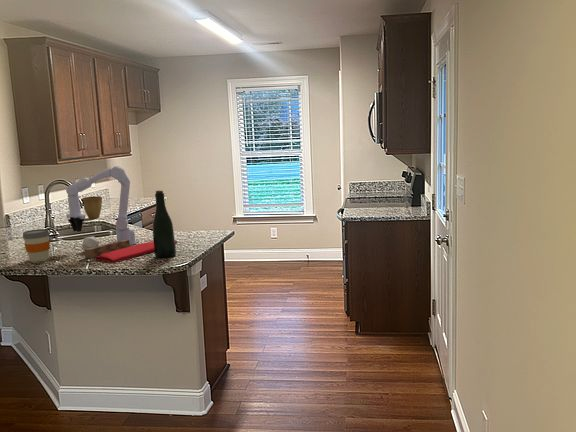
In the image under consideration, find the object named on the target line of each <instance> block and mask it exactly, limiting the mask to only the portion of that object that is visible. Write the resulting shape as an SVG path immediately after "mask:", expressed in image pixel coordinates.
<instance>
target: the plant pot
mask: <svg viewBox="0 0 576 432" xmlns="http://www.w3.org/2000/svg"><path fill="white" fill-rule="evenodd" d="M82 200H83V202H84V205H85V206H83V209H84V211H85V214H86V217H87V218H88V219H89V220H95V219H99V218H100V217H101V210H102V203H103V196H100V195H99V196H86V197H82V198H81V201H82Z"/></svg>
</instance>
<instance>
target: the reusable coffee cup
mask: <svg viewBox="0 0 576 432" xmlns="http://www.w3.org/2000/svg"><path fill="white" fill-rule="evenodd" d="M22 239H23V240H24V247H25V250H26V253H27V256H28V259H29V262H30V263H31V262H32V263H36V262H37V263H39V262H44V261H48V260H49V259H50V249H51V247H50V244H51V242H50V241H51V240H50V231H49V229H47V228H41V229H40V228H38V229H30V230H25V231H23V232H22ZM47 259H48V260H47ZM38 261H39V262H38Z"/></svg>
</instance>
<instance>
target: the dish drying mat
mask: <svg viewBox="0 0 576 432" xmlns="http://www.w3.org/2000/svg"><path fill="white" fill-rule="evenodd" d="M177 244H178V241H177V240H175V246H176V245H177ZM153 252H154V242H153V240H150V241H145V242H143V243H138V244H133V245H130V247H126V248H122V249H118V250H114V251H110V252H106V253H103V254H101V255H100V256H98V257H94V259H95V261H100V260H102V261H101V262H105V261H107V262H106V263H110V262H111V263H118V262H121V260H122V261H125V260H129V259H133V258H135V257H139V256H144V255H146V254H151V253H153Z"/></svg>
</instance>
